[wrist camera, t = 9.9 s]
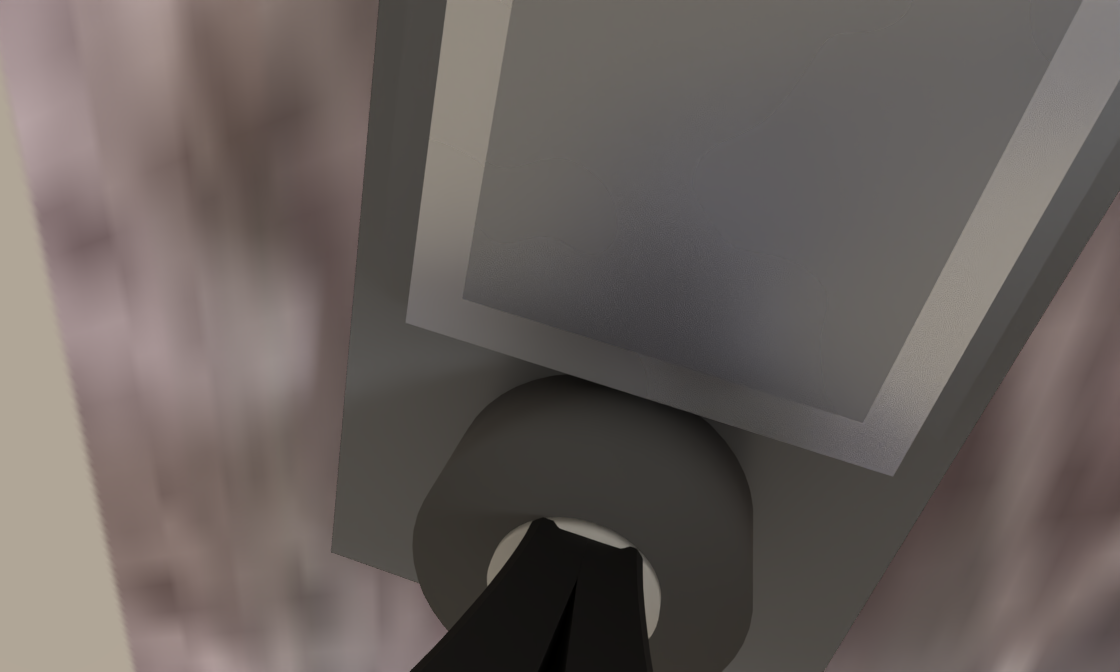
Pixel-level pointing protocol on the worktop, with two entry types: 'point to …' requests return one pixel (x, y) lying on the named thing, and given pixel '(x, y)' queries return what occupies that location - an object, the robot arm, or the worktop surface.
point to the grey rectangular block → (750, 194)
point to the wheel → (599, 509)
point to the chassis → (769, 465)
